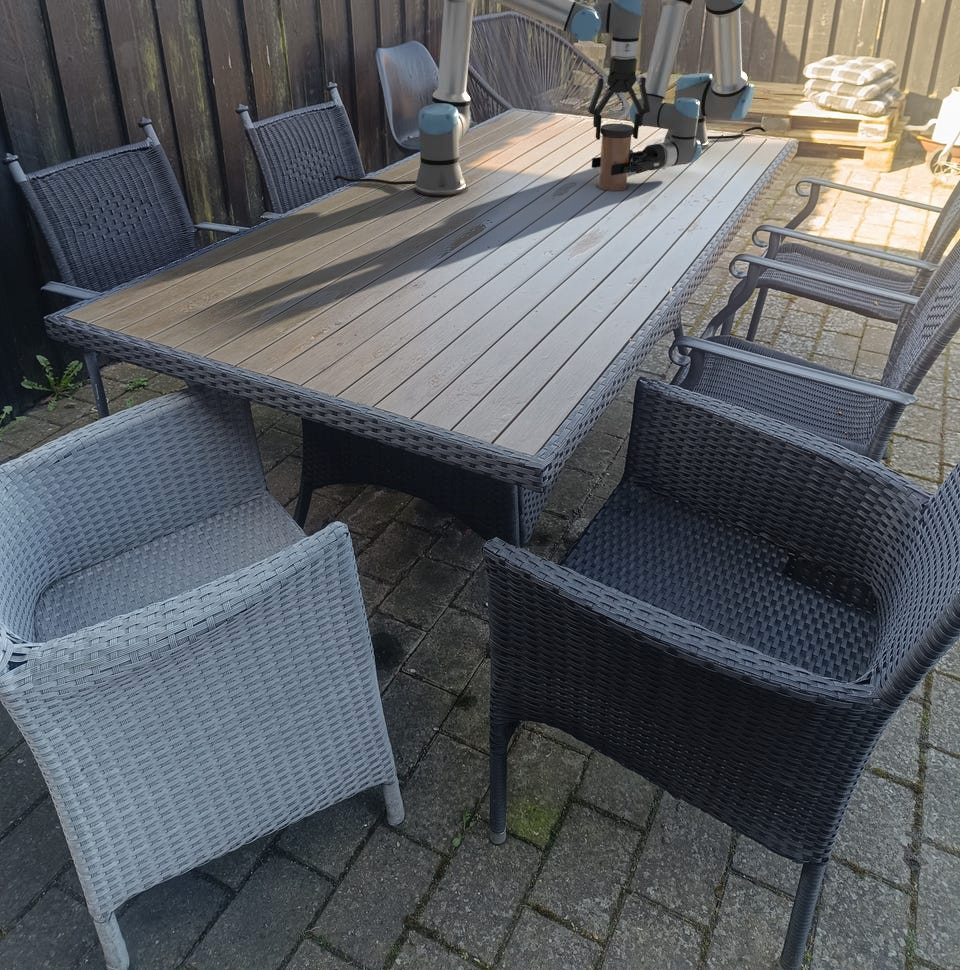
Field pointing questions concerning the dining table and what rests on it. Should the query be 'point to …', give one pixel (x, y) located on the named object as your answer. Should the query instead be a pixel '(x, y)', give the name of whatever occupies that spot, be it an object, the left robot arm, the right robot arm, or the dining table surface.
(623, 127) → the lid
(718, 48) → the right robot arm
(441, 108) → the left robot arm
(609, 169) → the jar
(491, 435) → the dining table surface
